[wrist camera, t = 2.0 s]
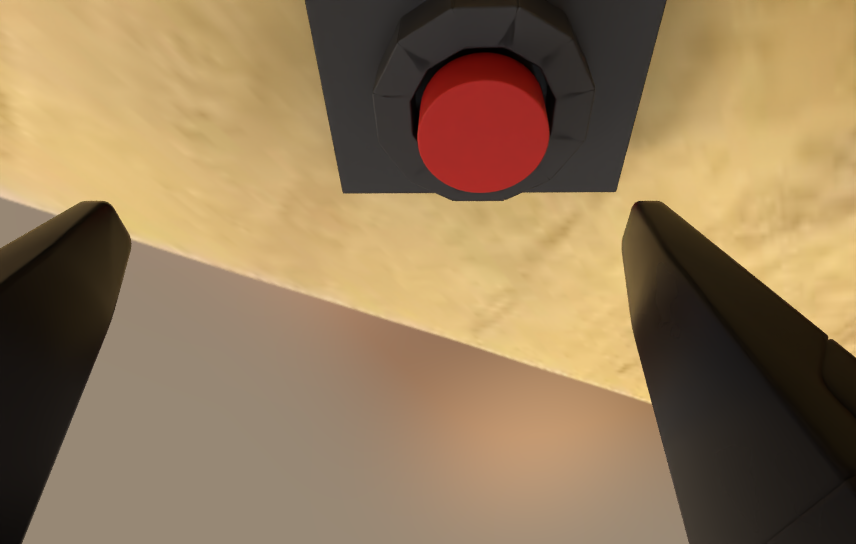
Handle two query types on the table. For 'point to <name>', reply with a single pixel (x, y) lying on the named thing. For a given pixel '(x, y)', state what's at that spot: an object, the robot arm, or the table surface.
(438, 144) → the release button
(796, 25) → the table surface
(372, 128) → the button panel
